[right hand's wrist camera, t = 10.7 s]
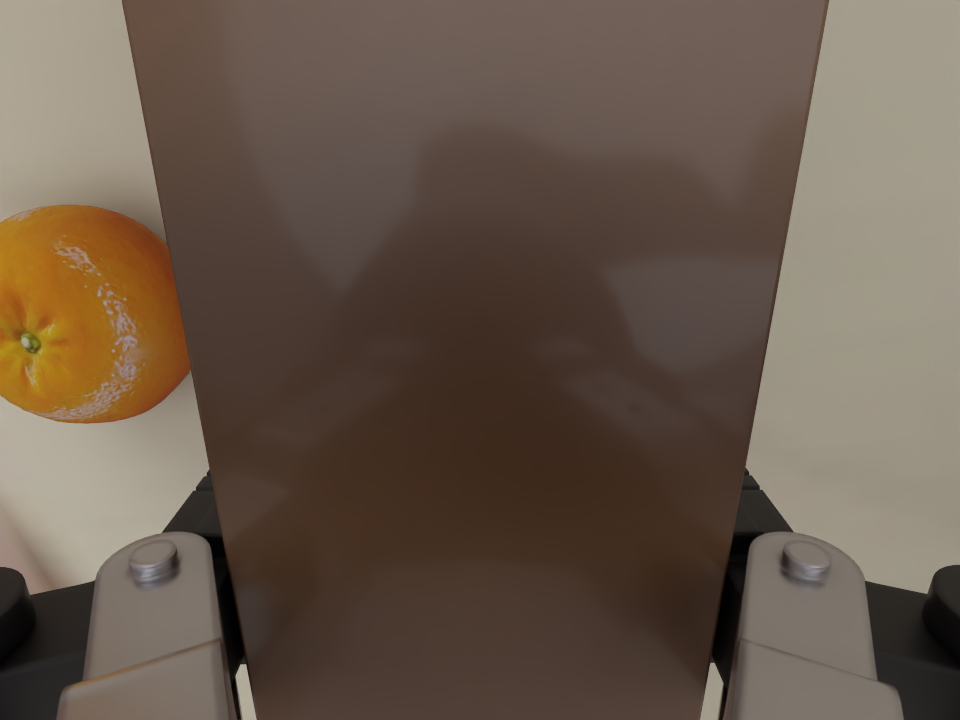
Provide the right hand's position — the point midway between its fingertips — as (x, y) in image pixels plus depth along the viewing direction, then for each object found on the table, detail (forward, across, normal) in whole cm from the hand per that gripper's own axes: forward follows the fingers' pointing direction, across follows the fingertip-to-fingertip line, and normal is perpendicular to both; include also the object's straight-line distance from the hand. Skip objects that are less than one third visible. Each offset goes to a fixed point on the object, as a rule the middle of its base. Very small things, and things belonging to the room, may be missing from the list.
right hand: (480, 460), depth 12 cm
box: (+7, 0, +10) cm, 12 cm away
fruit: (+17, -16, -2) cm, 23 cm away
